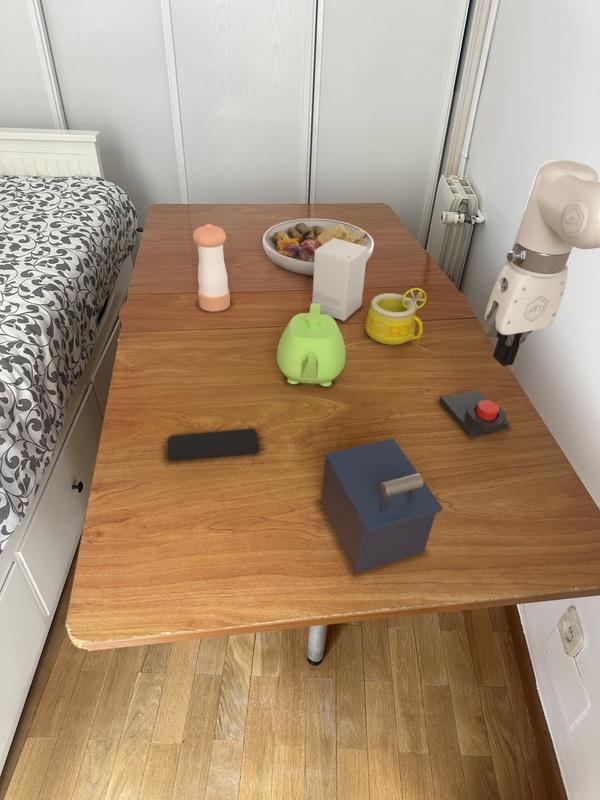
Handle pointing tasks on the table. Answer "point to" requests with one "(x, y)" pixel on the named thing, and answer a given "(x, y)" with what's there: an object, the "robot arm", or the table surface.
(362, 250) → the white product box
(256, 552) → the table surface
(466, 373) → the table surface
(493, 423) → the switch block
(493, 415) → the button
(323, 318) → the teapot
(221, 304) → the pepper shaker
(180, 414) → the table surface
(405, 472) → the blue drawer with handle
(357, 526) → the lidded box
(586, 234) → the robot arm
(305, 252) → the bowl
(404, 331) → the mug
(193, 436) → the remote control
